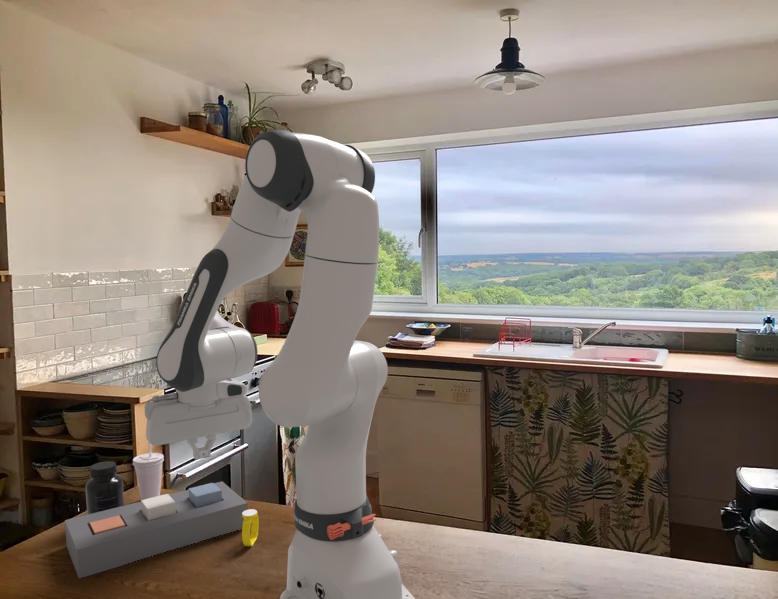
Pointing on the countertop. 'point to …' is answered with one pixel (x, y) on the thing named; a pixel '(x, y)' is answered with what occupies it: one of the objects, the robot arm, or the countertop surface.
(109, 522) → the terracotta key
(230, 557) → the countertop surface
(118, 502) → the supplement bottle
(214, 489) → the slate blue key
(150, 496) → the smoothie
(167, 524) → the key panel
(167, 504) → the white key
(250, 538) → the watch
